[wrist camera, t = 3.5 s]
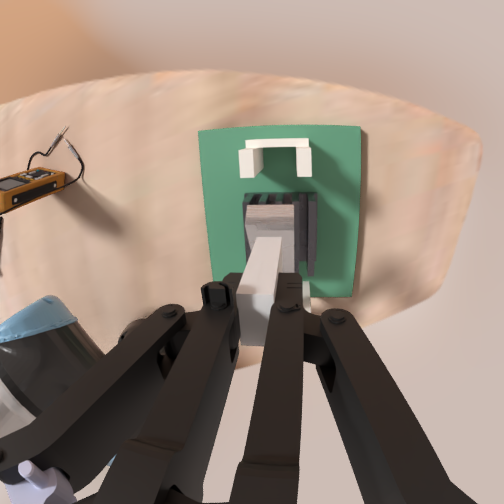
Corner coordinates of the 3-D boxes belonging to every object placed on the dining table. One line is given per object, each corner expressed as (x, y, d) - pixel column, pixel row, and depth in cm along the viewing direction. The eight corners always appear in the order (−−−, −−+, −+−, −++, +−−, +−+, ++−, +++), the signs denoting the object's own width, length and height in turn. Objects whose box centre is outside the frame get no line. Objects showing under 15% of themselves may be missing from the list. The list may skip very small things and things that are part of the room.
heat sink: (315, 257, 34) (318, 276, 30) (249, 257, 35) (243, 275, 31) (316, 191, 31) (320, 201, 27) (245, 192, 32) (237, 202, 28)
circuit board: (350, 292, 36) (362, 334, 28) (217, 290, 39) (198, 330, 31) (358, 126, 28) (380, 124, 20) (201, 131, 31) (170, 131, 23)
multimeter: (89, 127, 32) (-30, 146, 14) (82, 193, 37) (-24, 243, 18) (31, 123, 33) (-66, 142, 15) (27, 179, 37) (-62, 215, 19)
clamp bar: (298, 304, 32) (298, 321, 31) (263, 303, 33) (262, 320, 32) (301, 204, 18) (302, 231, 17) (239, 205, 19) (235, 231, 17)
